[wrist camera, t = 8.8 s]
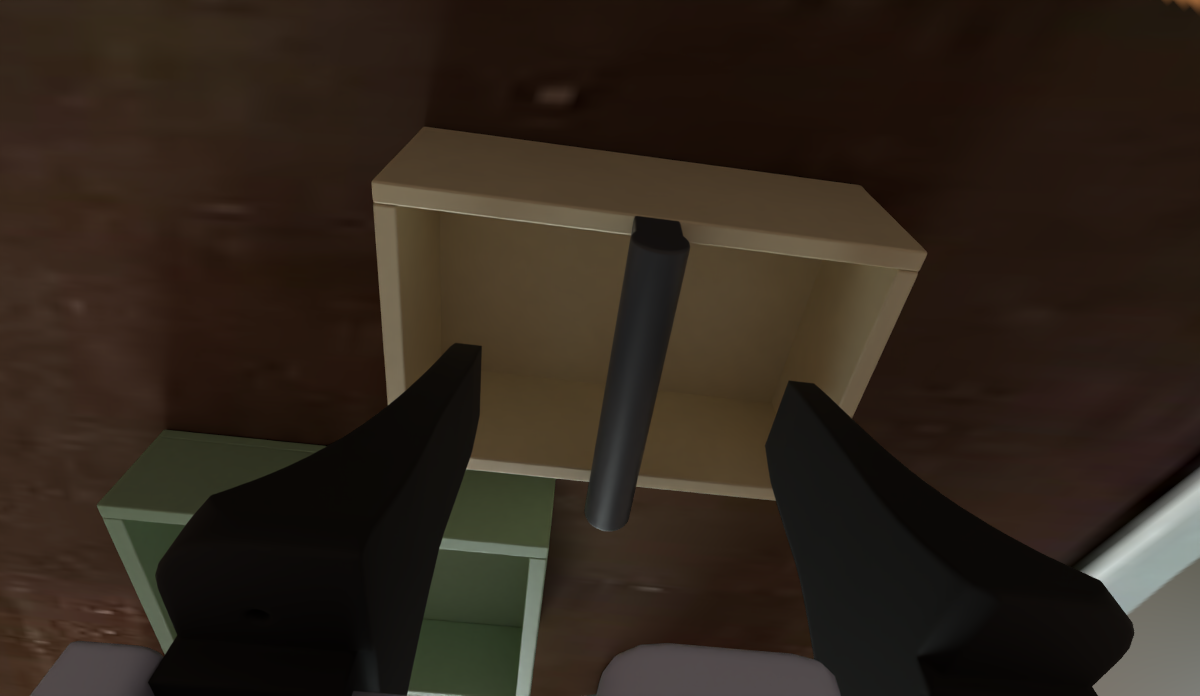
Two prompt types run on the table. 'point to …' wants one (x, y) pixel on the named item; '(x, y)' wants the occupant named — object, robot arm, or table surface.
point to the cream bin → (631, 305)
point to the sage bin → (461, 576)
